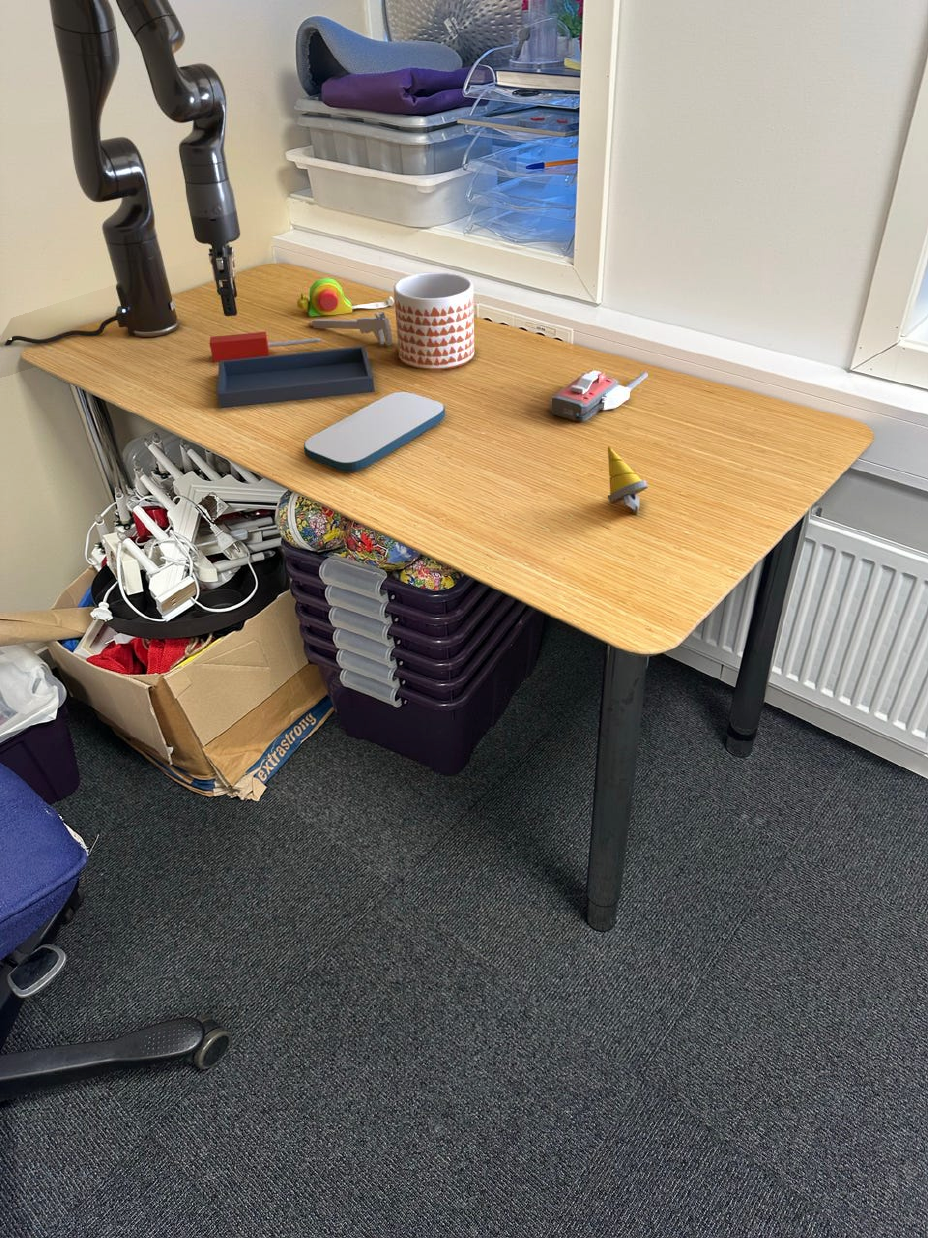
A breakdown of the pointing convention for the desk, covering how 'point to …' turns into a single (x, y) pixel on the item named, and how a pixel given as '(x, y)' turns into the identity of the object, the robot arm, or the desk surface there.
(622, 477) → the yellow cone
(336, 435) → the external hard drive
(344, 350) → the tray
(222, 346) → the screwdriver
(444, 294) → the planter
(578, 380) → the walkie-talkie
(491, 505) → the desk surface
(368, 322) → the caliper
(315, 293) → the toy measuring tape
